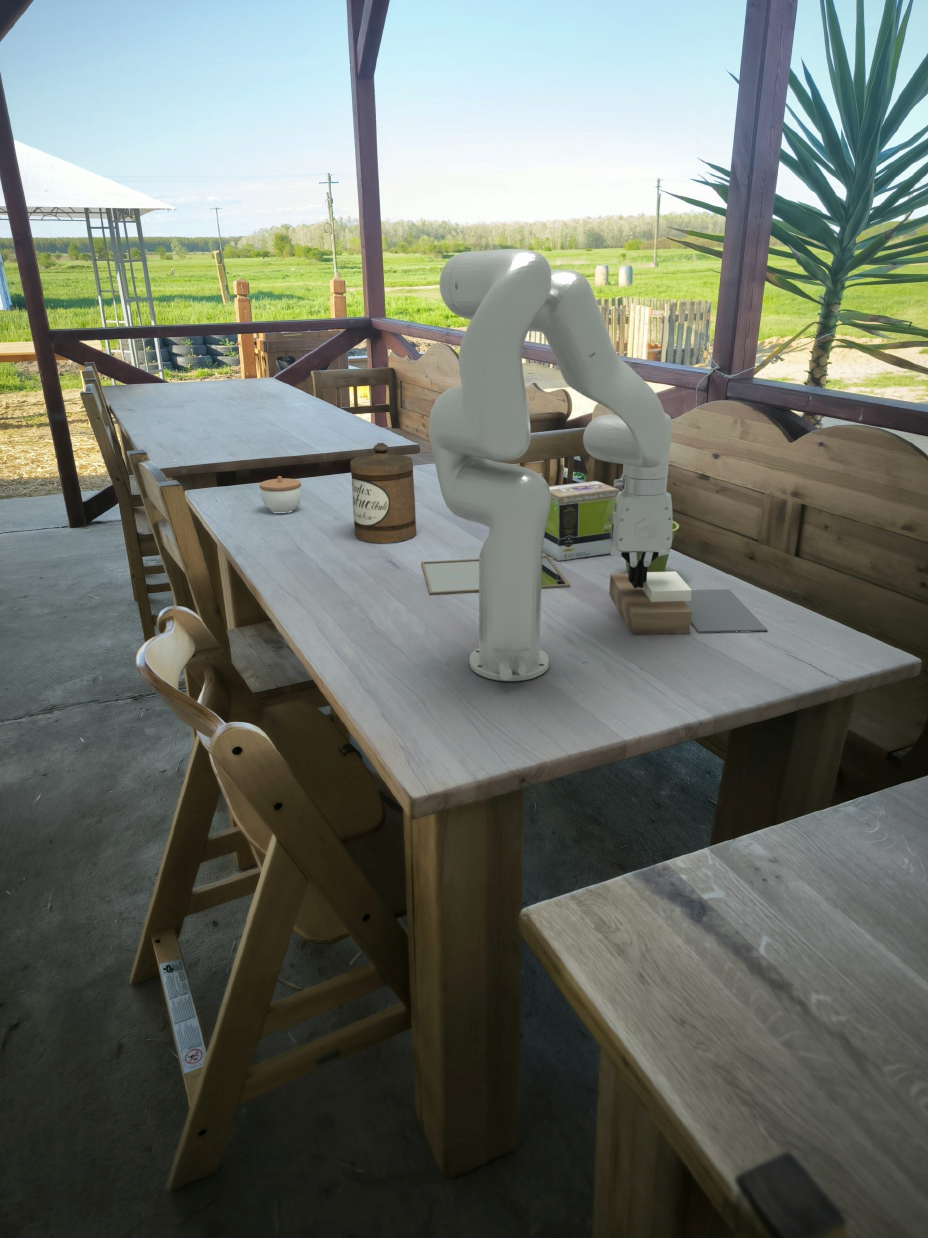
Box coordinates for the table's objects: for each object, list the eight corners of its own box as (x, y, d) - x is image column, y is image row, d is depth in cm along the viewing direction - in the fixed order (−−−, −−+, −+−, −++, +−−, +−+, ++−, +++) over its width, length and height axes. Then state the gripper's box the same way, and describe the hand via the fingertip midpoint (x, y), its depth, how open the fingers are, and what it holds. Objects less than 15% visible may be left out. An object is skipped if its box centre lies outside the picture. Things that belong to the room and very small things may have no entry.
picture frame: (429, 597, 159) (569, 589, 162) (429, 592, 158) (570, 584, 162) (421, 566, 176) (547, 559, 180) (421, 561, 176) (548, 555, 179)
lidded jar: (268, 506, 224) (264, 472, 220) (307, 506, 223) (304, 472, 220) (257, 516, 214) (253, 481, 210) (298, 516, 213) (295, 481, 210)
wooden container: (342, 534, 198) (336, 443, 189) (391, 523, 207) (387, 435, 198) (378, 547, 187) (374, 452, 179) (428, 535, 196) (426, 443, 188)
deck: (689, 633, 140) (691, 611, 138) (631, 634, 140) (633, 612, 138) (660, 592, 158) (662, 573, 157) (609, 593, 158) (610, 574, 157)
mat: (767, 631, 140) (767, 629, 140) (698, 633, 140) (698, 630, 140) (729, 591, 159) (729, 589, 159) (667, 592, 159) (668, 590, 158)
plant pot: (627, 564, 174) (630, 513, 170) (681, 573, 169) (686, 521, 164) (606, 581, 165) (609, 527, 161) (663, 591, 159) (668, 535, 155)
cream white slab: (690, 600, 143) (691, 590, 142) (651, 601, 143) (652, 591, 142) (674, 581, 152) (675, 571, 152) (637, 582, 152) (638, 572, 151)
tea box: (595, 541, 190) (598, 479, 184) (617, 554, 181) (622, 488, 176) (537, 549, 185) (538, 485, 179) (557, 562, 176) (560, 495, 171)
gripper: (605, 491, 136) (599, 593, 144) (693, 489, 137) (683, 591, 144) (597, 481, 143) (592, 579, 150) (681, 479, 144) (672, 577, 151)
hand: (636, 585), depth 147 cm, fingers closed
